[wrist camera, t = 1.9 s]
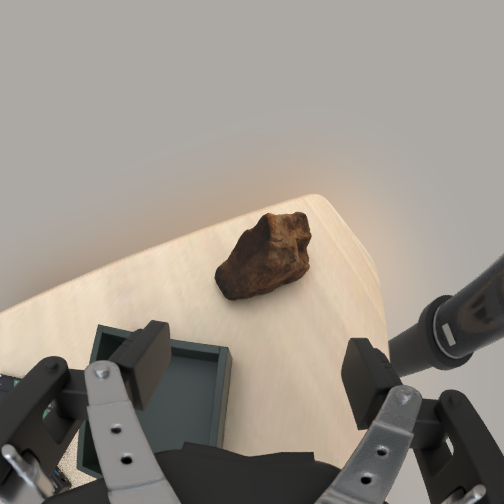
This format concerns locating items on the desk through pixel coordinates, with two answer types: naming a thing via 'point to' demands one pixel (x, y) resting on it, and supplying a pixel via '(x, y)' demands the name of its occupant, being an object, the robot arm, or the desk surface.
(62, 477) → the multiport hub
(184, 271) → the desk surface
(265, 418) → the desk surface
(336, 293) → the desk surface
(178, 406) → the bin
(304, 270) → the decorative rock
